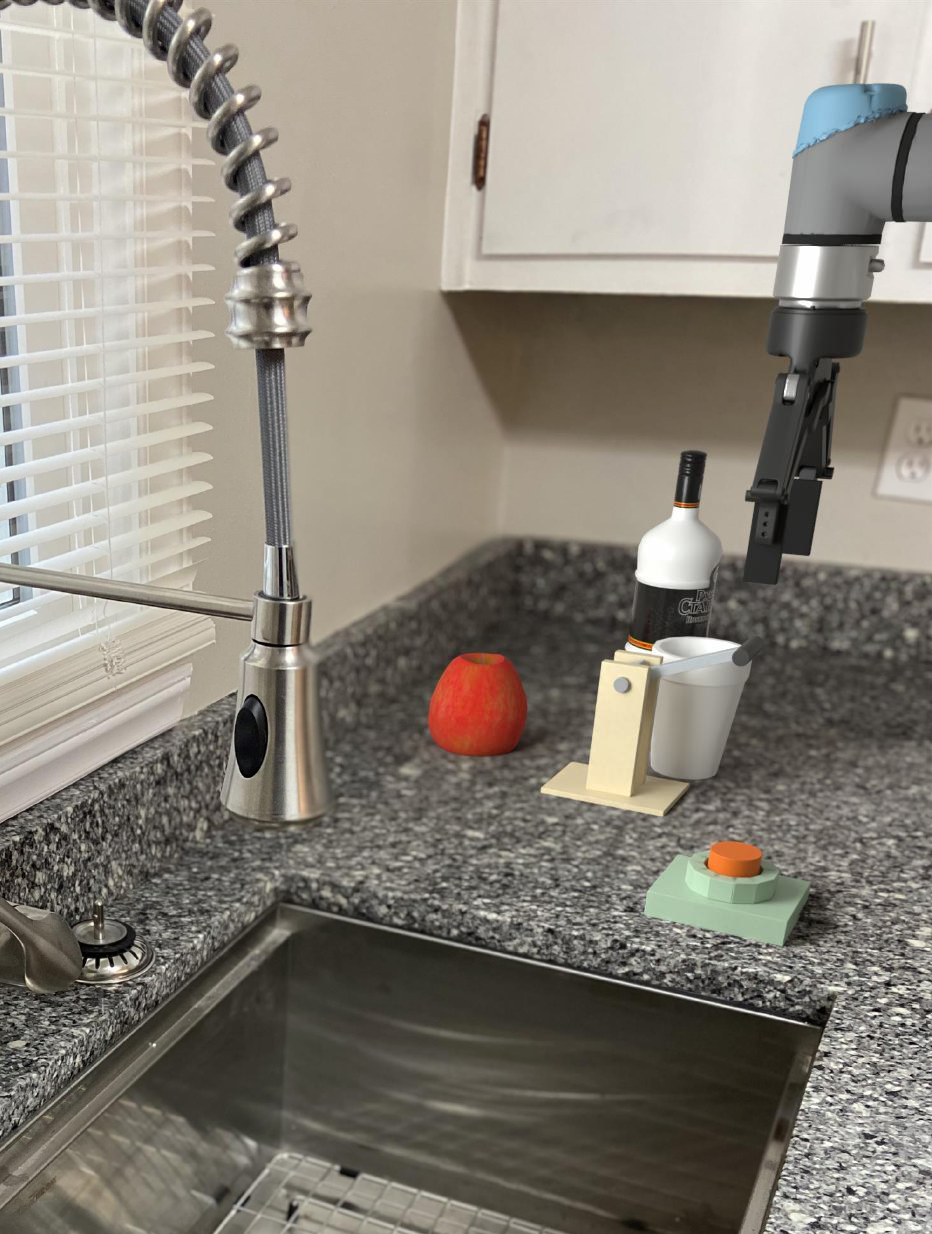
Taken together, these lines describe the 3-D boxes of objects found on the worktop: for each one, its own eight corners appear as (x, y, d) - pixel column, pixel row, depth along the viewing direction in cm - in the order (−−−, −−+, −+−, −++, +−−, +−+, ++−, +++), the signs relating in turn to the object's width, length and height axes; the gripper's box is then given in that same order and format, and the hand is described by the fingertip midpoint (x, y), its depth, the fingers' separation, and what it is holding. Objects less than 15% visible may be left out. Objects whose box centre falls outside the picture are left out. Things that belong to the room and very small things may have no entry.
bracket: (687, 794, 146) (709, 657, 140) (661, 823, 139) (683, 680, 133) (570, 772, 152) (586, 639, 146) (539, 799, 145) (555, 660, 139)
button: (763, 867, 121) (767, 847, 120) (752, 884, 118) (755, 864, 117) (714, 857, 123) (717, 837, 122) (701, 873, 120) (704, 853, 119)
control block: (806, 905, 123) (815, 861, 121) (782, 947, 116) (791, 900, 114) (674, 877, 128) (681, 834, 126) (643, 915, 121) (650, 870, 119)
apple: (498, 731, 164) (507, 637, 159) (540, 761, 155) (551, 662, 150) (412, 738, 161) (418, 642, 156) (449, 769, 152) (457, 669, 148)
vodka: (628, 719, 168) (666, 441, 154) (709, 735, 163) (756, 449, 149) (595, 740, 161) (632, 451, 147) (678, 757, 156) (724, 460, 143)
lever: (766, 655, 136) (761, 629, 135) (752, 669, 131) (746, 642, 131) (627, 685, 143) (621, 661, 143) (610, 700, 139) (603, 675, 139)
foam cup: (743, 791, 147) (766, 662, 141) (649, 790, 147) (669, 662, 141) (713, 759, 156) (734, 637, 150) (625, 758, 156) (642, 636, 150)
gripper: (840, 313, 110) (791, 601, 119) (894, 298, 129) (848, 547, 138) (736, 310, 113) (697, 590, 122) (804, 296, 132) (765, 539, 142)
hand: (777, 568), depth 130 cm, fingers open, 13 cm apart
